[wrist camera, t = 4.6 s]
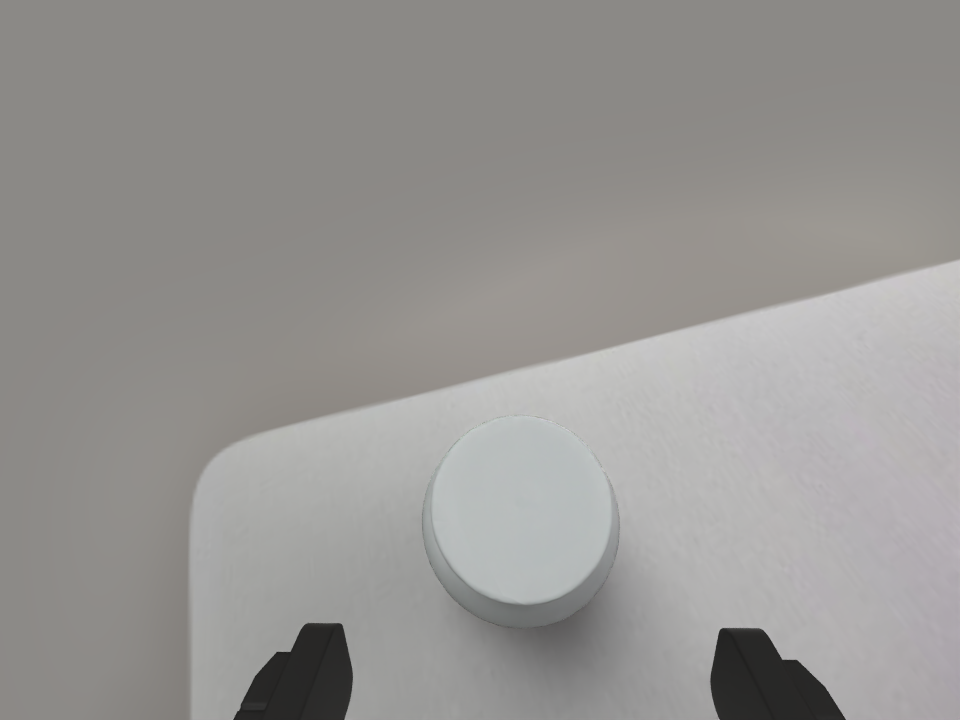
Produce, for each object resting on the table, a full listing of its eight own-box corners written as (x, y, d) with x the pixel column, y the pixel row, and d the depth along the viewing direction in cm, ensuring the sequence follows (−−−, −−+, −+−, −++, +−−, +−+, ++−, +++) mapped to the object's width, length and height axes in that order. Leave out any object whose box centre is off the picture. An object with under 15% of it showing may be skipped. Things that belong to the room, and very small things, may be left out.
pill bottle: (459, 615, 18) (404, 668, 9) (445, 475, 20) (390, 404, 11) (598, 595, 18) (684, 627, 9) (568, 457, 20) (613, 370, 11)
